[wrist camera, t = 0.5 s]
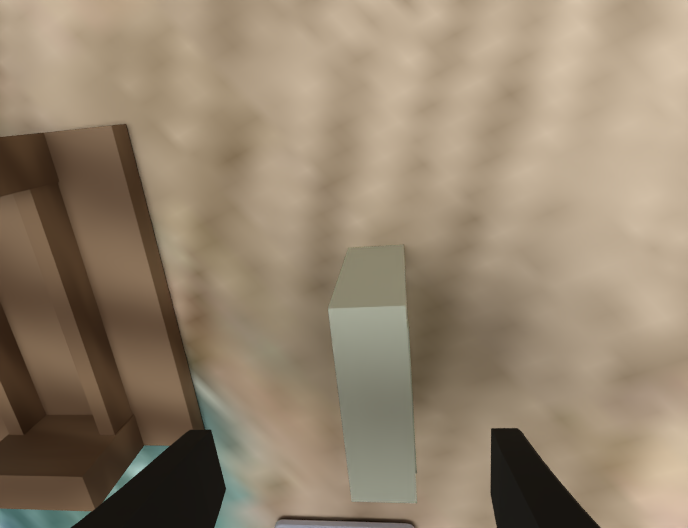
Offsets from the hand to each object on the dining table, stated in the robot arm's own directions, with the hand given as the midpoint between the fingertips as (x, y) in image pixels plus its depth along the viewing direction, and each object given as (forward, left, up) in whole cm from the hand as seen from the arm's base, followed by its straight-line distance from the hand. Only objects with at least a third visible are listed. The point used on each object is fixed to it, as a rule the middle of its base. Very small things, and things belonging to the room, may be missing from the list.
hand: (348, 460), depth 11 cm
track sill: (+1, +16, -9) cm, 18 cm away
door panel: (-1, 0, -10) cm, 10 cm away
